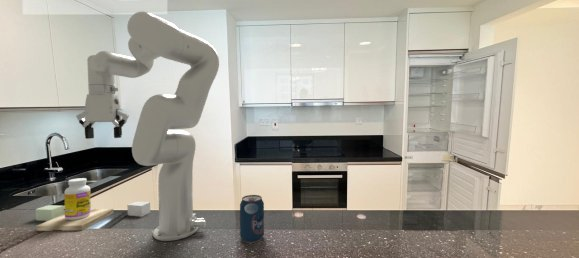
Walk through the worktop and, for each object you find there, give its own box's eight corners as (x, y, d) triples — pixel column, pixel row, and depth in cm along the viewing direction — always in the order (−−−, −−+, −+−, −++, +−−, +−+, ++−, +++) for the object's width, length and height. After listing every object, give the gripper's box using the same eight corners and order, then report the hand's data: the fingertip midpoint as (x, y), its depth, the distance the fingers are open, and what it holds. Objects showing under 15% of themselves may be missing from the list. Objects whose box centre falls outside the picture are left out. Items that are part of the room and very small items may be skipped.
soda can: (258, 245, 66) (257, 202, 66) (235, 242, 68) (235, 200, 68) (267, 234, 73) (267, 195, 72) (246, 231, 75) (246, 193, 74)
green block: (63, 216, 86) (63, 205, 86) (51, 221, 82) (51, 209, 82) (48, 216, 87) (48, 205, 86) (35, 220, 83) (35, 209, 83)
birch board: (113, 213, 89) (113, 209, 89) (82, 230, 75) (82, 225, 75) (74, 213, 89) (74, 209, 89) (35, 230, 75) (35, 226, 75)
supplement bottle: (75, 221, 78) (74, 182, 77) (59, 220, 79) (58, 181, 79) (95, 213, 84) (95, 177, 84) (80, 212, 86) (79, 176, 85)
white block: (150, 212, 90) (150, 202, 90) (141, 217, 86) (141, 206, 86) (136, 211, 91) (136, 201, 91) (127, 215, 87) (127, 204, 87)
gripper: (133, 92, 91) (134, 137, 91) (84, 92, 90) (86, 138, 90) (120, 89, 83) (122, 138, 84) (67, 89, 82) (69, 139, 83)
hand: (103, 138), depth 87 cm, fingers open, 9 cm apart
